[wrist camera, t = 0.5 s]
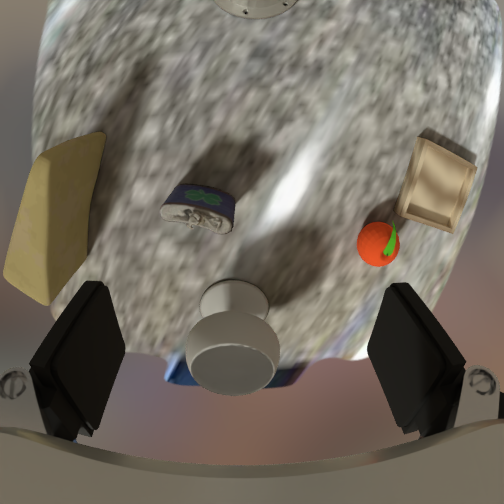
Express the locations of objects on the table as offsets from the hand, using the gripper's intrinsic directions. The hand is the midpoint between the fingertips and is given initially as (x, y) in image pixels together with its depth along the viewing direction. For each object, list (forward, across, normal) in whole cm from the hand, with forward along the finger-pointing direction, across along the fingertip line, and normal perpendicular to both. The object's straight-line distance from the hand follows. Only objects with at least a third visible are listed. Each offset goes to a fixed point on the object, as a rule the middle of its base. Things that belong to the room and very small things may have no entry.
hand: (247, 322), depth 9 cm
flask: (+34, +6, +6) cm, 35 cm away
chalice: (+35, +1, +26) cm, 43 cm away
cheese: (+34, +26, +5) cm, 44 cm away
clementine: (+34, -21, +11) cm, 42 cm away
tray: (+34, -32, +2) cm, 47 cm away
